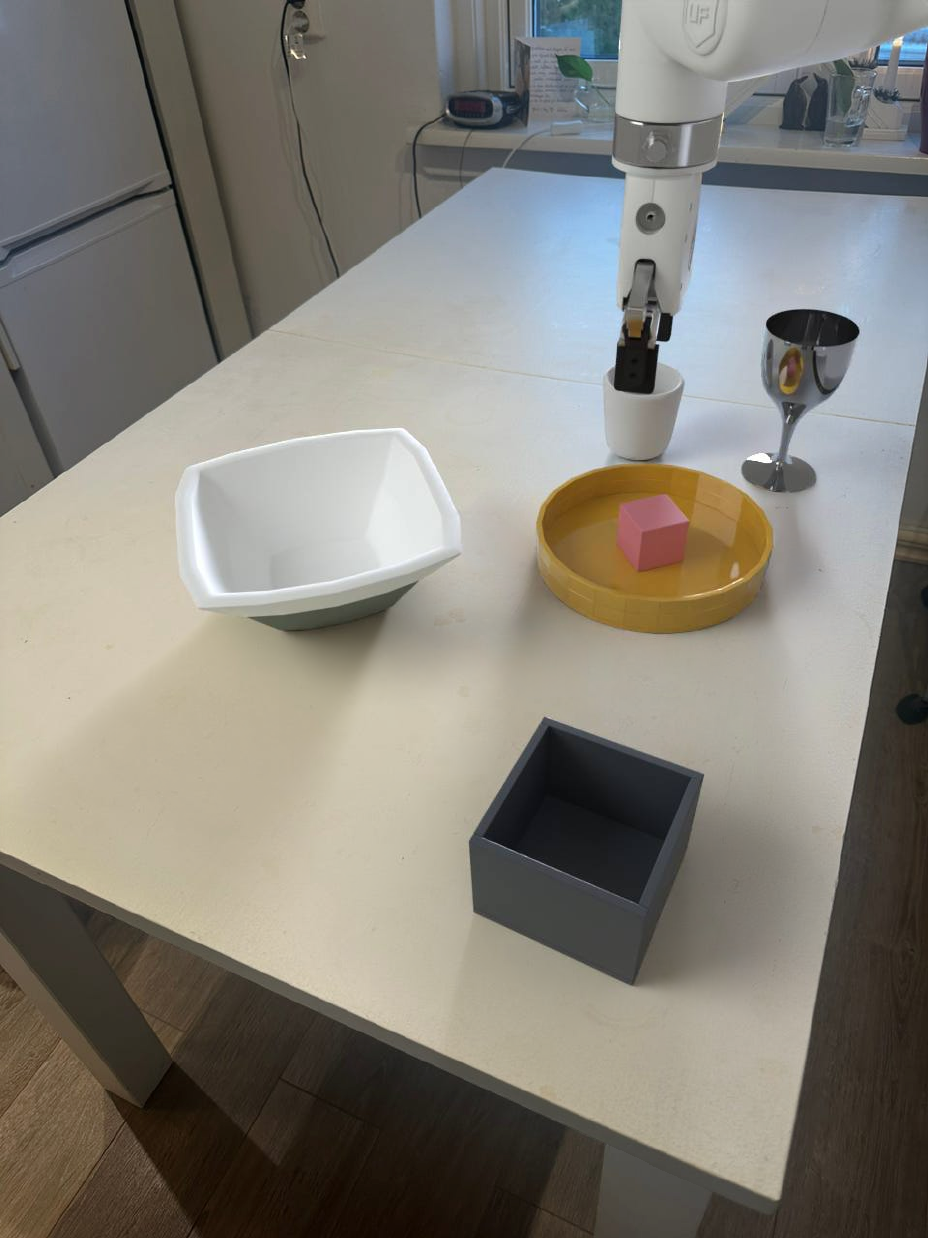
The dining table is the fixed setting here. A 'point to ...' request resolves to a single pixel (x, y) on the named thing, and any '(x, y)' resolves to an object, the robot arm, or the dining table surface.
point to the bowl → (313, 528)
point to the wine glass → (799, 384)
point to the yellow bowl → (664, 596)
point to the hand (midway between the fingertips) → (643, 363)
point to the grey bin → (584, 846)
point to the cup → (642, 415)
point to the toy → (652, 532)
